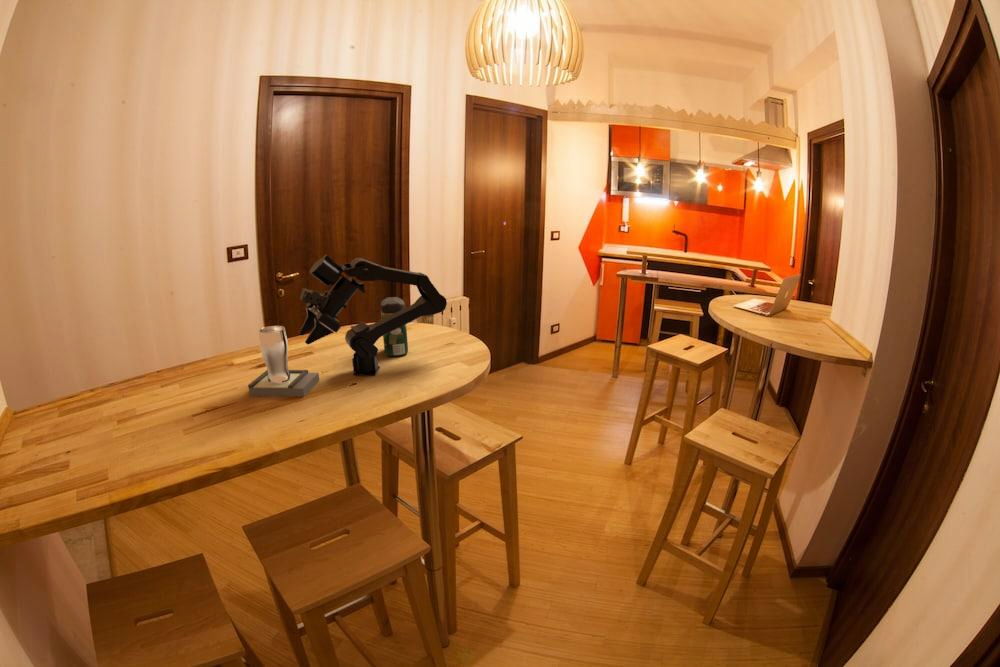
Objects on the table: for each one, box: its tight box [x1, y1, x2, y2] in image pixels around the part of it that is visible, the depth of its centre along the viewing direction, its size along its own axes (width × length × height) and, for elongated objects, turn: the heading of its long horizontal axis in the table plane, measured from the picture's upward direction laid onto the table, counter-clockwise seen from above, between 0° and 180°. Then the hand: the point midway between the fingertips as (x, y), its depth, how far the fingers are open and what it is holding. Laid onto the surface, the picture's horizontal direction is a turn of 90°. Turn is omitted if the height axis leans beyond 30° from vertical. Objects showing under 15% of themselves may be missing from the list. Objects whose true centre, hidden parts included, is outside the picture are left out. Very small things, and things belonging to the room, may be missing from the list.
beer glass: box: [258, 325, 291, 385], centre depth 138 cm, size 7×7×15 cm
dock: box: [247, 369, 320, 398], centre depth 142 cm, size 15×11×3 cm
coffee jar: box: [380, 296, 409, 357], centre depth 166 cm, size 10×8×19 cm
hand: (303, 338), depth 141 cm, fingers open, 9 cm apart
